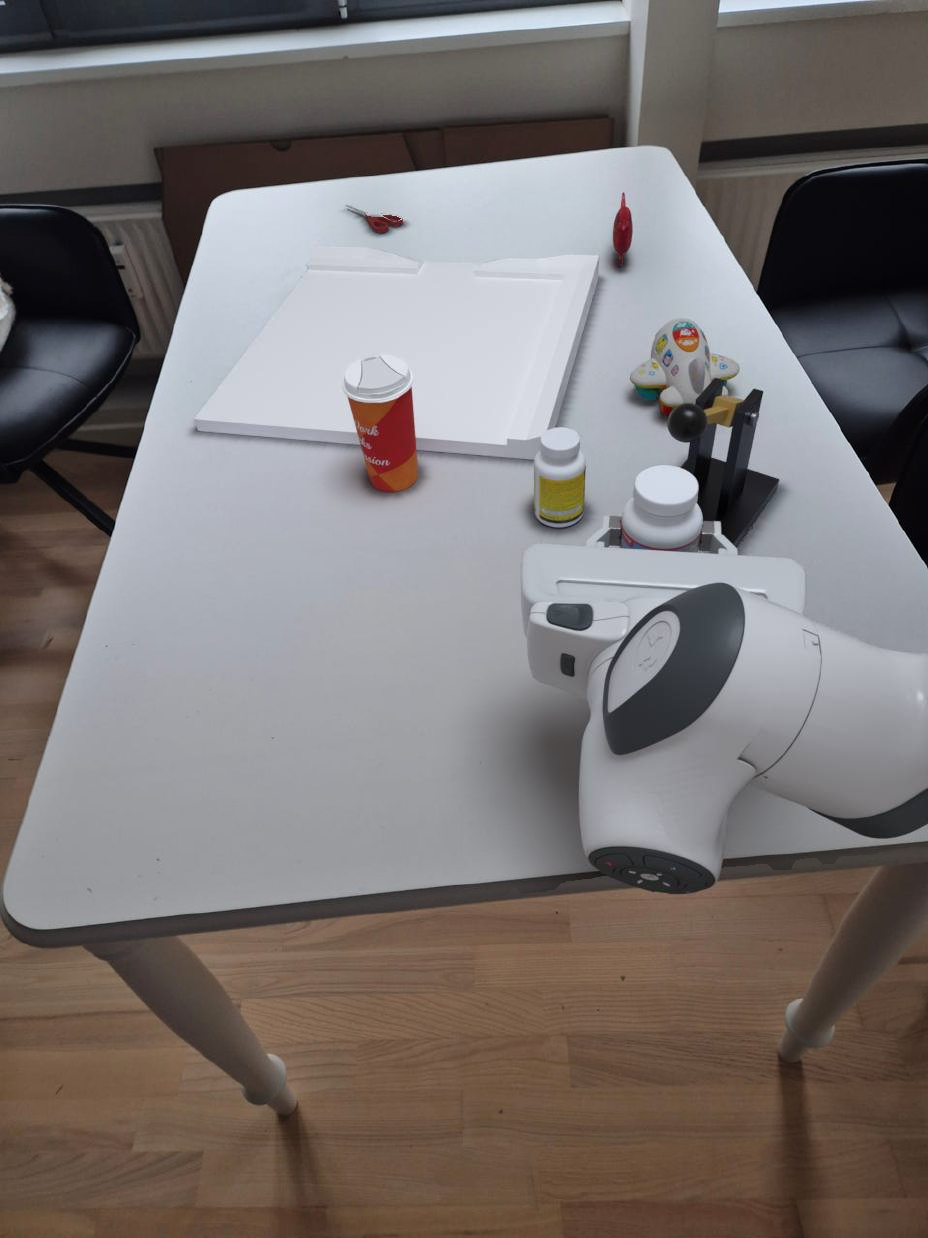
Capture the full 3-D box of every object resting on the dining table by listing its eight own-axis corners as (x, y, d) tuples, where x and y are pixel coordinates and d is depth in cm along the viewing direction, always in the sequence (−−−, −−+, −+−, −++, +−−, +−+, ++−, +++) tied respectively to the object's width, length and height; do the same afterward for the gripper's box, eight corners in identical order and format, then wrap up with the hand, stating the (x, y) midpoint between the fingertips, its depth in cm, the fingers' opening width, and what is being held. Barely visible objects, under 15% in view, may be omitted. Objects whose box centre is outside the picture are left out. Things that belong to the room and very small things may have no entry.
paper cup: (355, 466, 103) (333, 361, 92) (417, 450, 104) (402, 345, 94) (370, 505, 98) (348, 398, 87) (435, 489, 99) (421, 381, 88)
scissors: (380, 234, 146) (380, 228, 145) (334, 212, 154) (333, 207, 153) (405, 223, 148) (405, 217, 148) (358, 202, 156) (357, 197, 155)
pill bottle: (602, 578, 73) (609, 471, 65) (666, 557, 74) (681, 449, 66) (637, 627, 69) (649, 519, 61) (704, 604, 70) (725, 495, 62)
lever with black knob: (692, 449, 74) (704, 410, 73) (656, 438, 76) (667, 399, 74) (742, 431, 85) (753, 397, 84) (710, 421, 87) (720, 387, 85)
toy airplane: (647, 375, 96) (621, 303, 106) (639, 438, 103) (615, 365, 113) (765, 364, 96) (728, 293, 106) (749, 427, 103) (716, 355, 113)
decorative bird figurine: (610, 283, 129) (614, 214, 121) (612, 231, 140) (615, 166, 133) (630, 282, 128) (635, 214, 121) (630, 231, 140) (634, 165, 133)
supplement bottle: (593, 520, 93) (596, 445, 86) (547, 535, 92) (547, 460, 85) (570, 491, 97) (571, 417, 89) (526, 505, 95) (524, 431, 88)
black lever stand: (731, 554, 88) (754, 442, 78) (642, 521, 92) (653, 411, 82) (776, 489, 94) (803, 378, 84) (691, 461, 98) (707, 352, 88)
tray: (198, 430, 110) (189, 406, 108) (319, 267, 139) (315, 245, 137) (545, 460, 101) (545, 435, 98) (598, 278, 130) (599, 255, 127)
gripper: (829, 640, 54) (808, 499, 63) (506, 616, 57) (530, 486, 67) (807, 701, 59) (791, 562, 68) (509, 676, 62) (532, 546, 71)
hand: (659, 524), depth 67 cm, fingers closed on pill bottle, 6 cm apart
